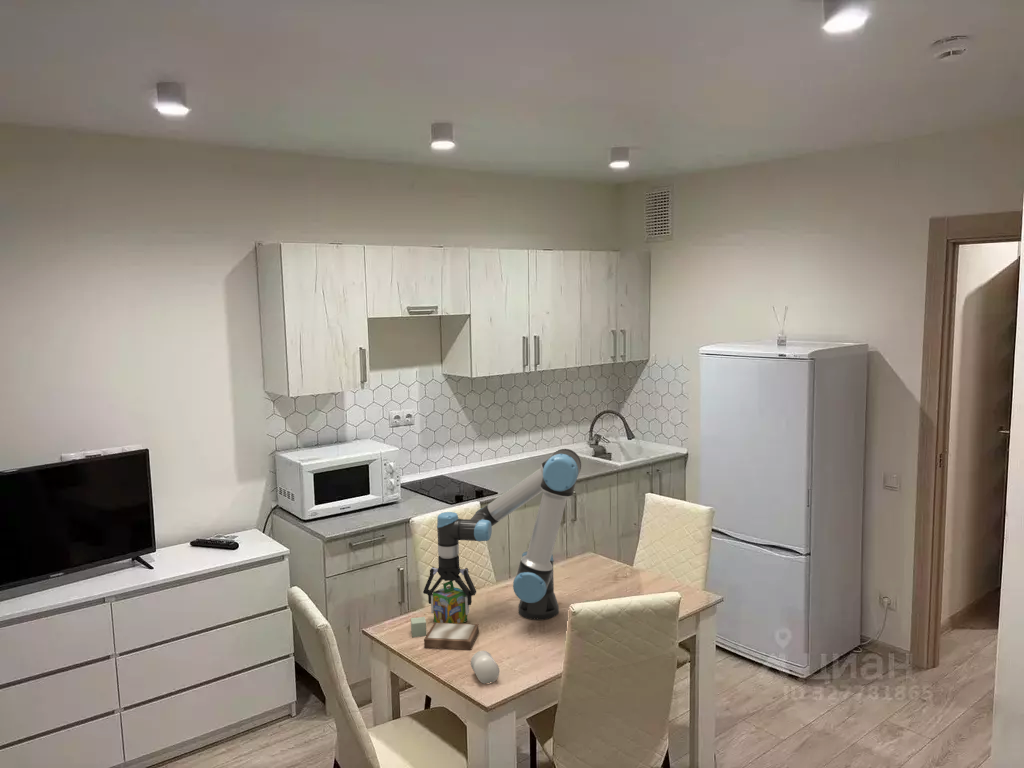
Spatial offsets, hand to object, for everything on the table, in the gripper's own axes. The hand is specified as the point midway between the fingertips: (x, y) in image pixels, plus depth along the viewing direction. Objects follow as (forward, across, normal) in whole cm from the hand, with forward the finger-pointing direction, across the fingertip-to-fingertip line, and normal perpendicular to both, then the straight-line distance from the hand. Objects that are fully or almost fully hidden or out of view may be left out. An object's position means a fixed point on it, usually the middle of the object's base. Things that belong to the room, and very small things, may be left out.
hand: (450, 612), depth 275 cm
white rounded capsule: (0, -19, +37) cm, 41 cm away
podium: (+3, -4, +15) cm, 16 cm away
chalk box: (+4, 0, 0) cm, 4 cm away
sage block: (+4, +9, +11) cm, 15 cm away
